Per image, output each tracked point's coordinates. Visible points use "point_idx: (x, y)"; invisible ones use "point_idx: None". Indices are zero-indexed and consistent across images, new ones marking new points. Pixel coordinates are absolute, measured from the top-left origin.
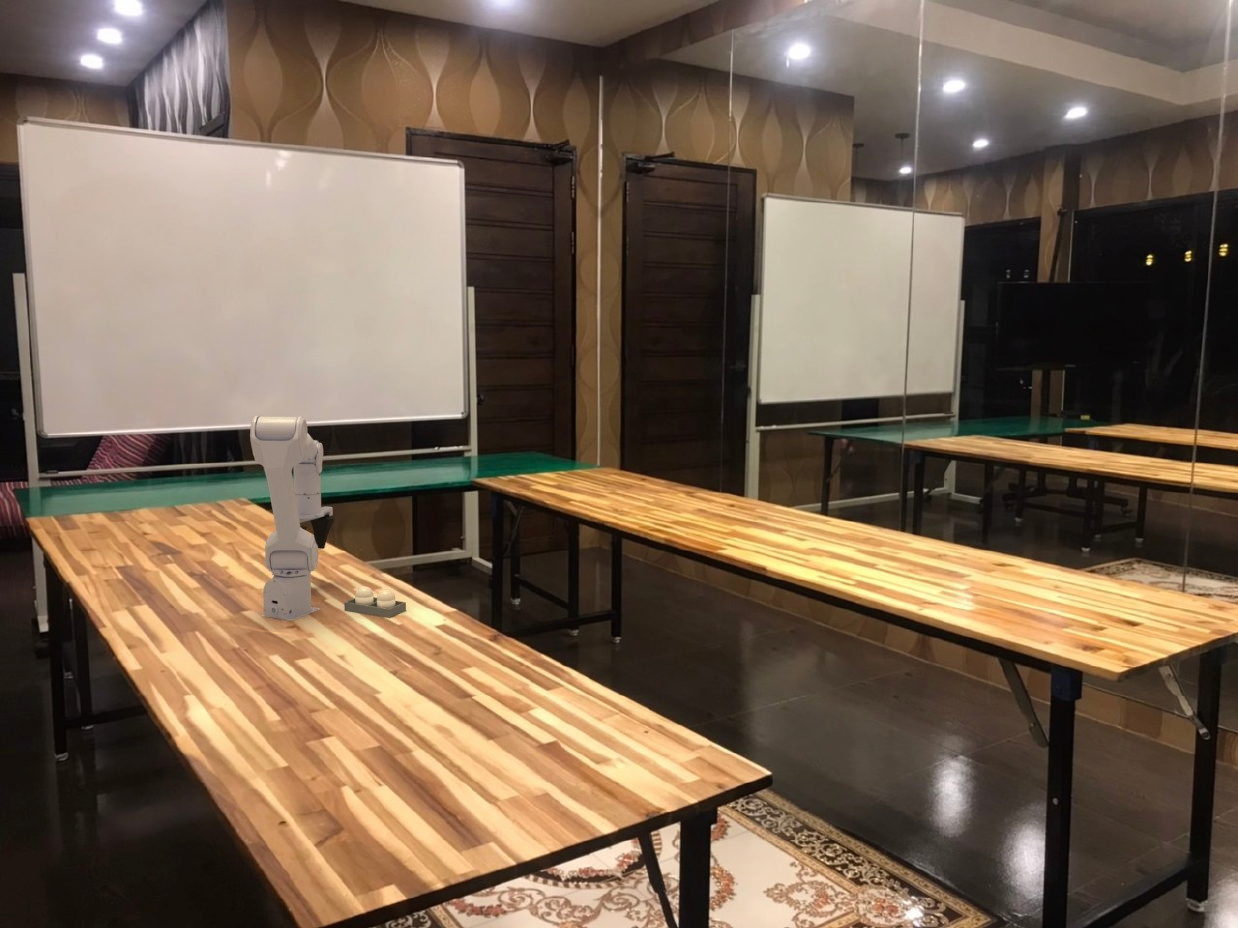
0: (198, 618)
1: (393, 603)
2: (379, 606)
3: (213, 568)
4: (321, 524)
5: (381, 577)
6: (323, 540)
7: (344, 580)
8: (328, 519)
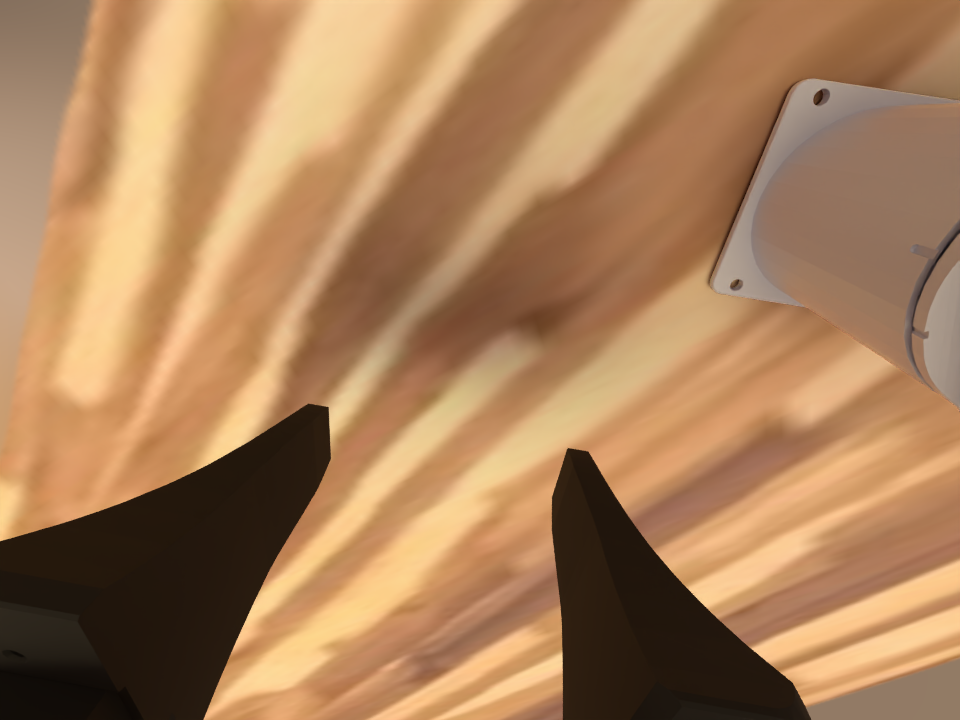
0: (894, 509)
1: None
2: None
3: (358, 661)
4: (188, 606)
5: (76, 121)
6: (291, 446)
7: (239, 279)
8: (82, 622)
